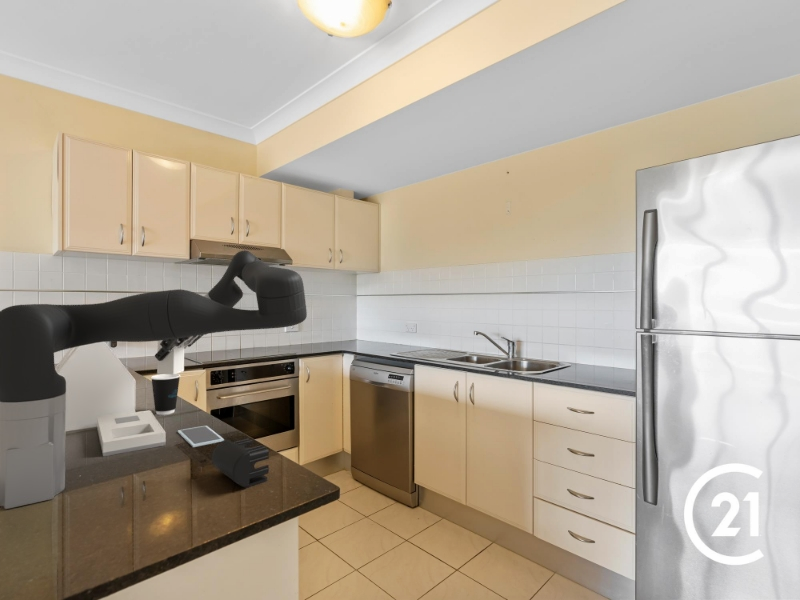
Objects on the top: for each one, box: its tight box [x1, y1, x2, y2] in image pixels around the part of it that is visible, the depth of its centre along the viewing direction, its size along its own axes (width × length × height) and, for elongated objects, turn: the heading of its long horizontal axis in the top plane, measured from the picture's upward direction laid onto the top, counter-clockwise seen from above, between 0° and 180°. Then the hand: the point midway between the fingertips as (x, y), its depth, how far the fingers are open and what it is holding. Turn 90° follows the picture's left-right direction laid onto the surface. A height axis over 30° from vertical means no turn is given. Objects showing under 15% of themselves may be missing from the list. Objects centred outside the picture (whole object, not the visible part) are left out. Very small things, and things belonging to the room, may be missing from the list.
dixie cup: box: [150, 373, 182, 416], centre depth 126 cm, size 8×8×11 cm
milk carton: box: [55, 342, 137, 432], centre depth 117 cm, size 19×15×25 cm
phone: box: [177, 425, 225, 448], centre depth 105 cm, size 14×7×1 cm, turn 41°
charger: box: [156, 340, 185, 375], centre depth 113 cm, size 5×4×10 cm
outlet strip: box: [96, 410, 167, 457], centre depth 105 cm, size 24×12×3 cm, turn 38°
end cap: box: [211, 438, 270, 489], centre depth 81 cm, size 10×7×7 cm
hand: (164, 356), depth 113 cm, fingers closed on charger, 4 cm apart
